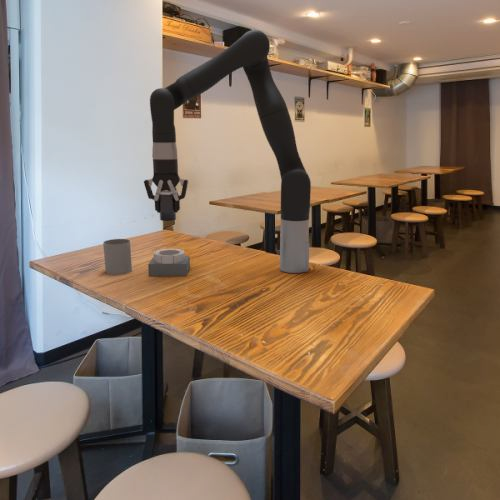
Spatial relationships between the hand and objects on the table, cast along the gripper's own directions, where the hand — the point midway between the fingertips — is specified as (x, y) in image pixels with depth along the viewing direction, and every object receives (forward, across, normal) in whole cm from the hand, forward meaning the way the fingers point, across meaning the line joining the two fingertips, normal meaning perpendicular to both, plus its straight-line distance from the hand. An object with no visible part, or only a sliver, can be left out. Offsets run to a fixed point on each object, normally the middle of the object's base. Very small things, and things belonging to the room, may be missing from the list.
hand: (167, 212), depth 137 cm
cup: (+20, +17, -1) cm, 26 cm away
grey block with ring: (+20, 0, 0) cm, 20 cm away
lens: (+2, 0, 0) cm, 2 cm away
